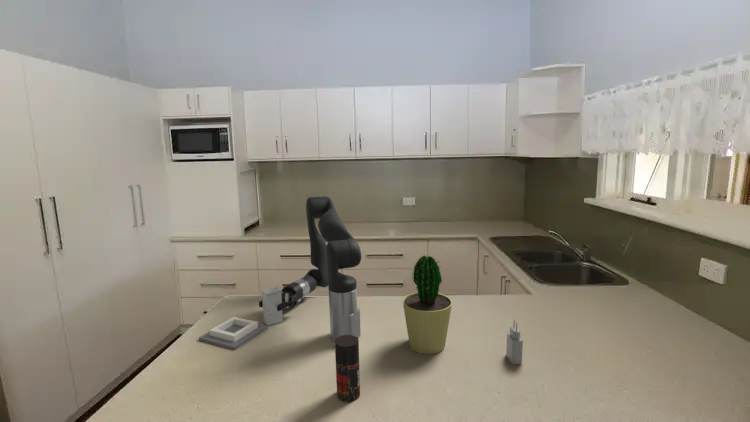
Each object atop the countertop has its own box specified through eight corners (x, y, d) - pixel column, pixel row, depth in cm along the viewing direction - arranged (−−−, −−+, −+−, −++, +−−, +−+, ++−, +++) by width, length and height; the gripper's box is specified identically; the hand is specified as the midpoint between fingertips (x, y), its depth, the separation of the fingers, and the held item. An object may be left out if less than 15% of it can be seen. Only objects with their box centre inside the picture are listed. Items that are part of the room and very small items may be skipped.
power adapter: (515, 353, 117) (517, 316, 115) (522, 363, 111) (524, 325, 109) (505, 354, 116) (506, 317, 114) (512, 364, 111) (513, 325, 109)
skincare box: (267, 326, 138) (264, 294, 136) (263, 321, 142) (261, 290, 140) (283, 321, 142) (281, 290, 139) (279, 317, 145) (277, 286, 143)
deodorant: (337, 388, 102) (335, 335, 99) (359, 386, 102) (358, 334, 100) (336, 403, 96) (334, 347, 93) (360, 401, 96) (359, 345, 94)
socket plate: (268, 328, 136) (268, 320, 136) (234, 350, 122) (234, 341, 122) (234, 320, 143) (234, 312, 143) (199, 340, 129) (198, 331, 128)
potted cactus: (461, 343, 123) (462, 252, 118) (433, 363, 112) (434, 264, 107) (422, 328, 134) (422, 244, 129) (393, 345, 123) (392, 255, 118)
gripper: (281, 279, 156) (252, 294, 141) (310, 284, 150) (284, 299, 135) (282, 297, 157) (254, 313, 143) (311, 302, 151) (285, 319, 136)
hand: (268, 306), depth 139 cm, fingers open, 8 cm apart
